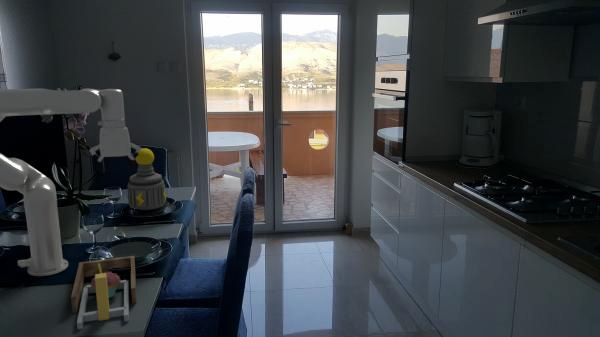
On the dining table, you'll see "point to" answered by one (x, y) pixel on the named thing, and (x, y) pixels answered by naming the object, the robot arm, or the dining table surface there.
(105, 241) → the dining table surface
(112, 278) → the cupcake
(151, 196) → the decorative lamp
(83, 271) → the bay
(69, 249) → the dining table surface
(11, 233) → the dining table surface
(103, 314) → the frame
